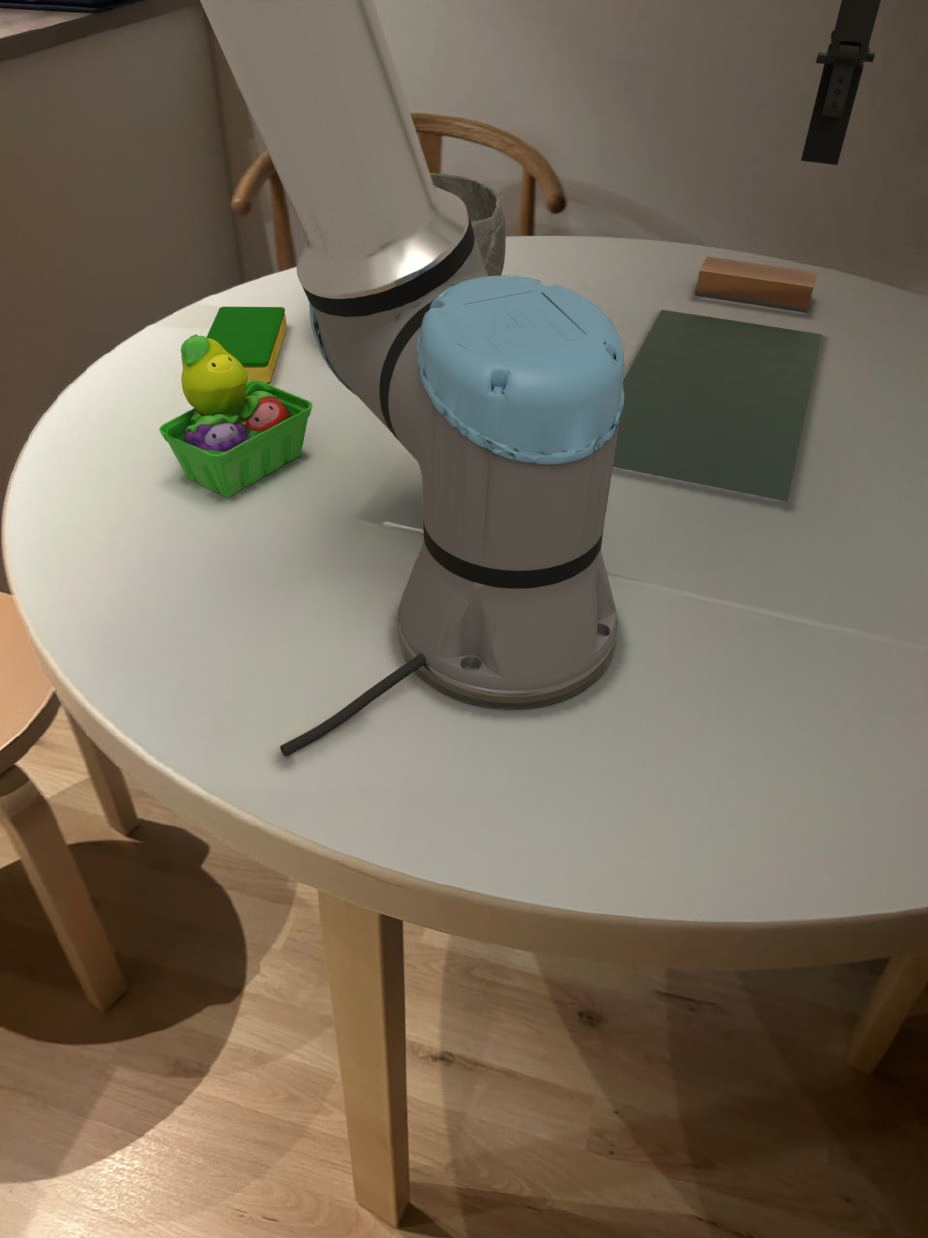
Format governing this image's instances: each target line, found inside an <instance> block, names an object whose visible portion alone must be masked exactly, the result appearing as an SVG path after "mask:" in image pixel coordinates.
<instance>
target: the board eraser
mask: <svg viewBox="0 0 928 1238" xmlns="http://www.w3.org/2000/svg"><path fill="white" fill-rule="evenodd" d="M817 276H818V271H815V270H814V271H813V270H806V269H800V268H799V269H798V268H790V267H784V266H777V265H770V264H763V263H756V262H749V261H742V260H736V259H728V258H720V257H714V256H706V257H705V259H704V261H703V263H702V265H701V267H700V269H699V272H698V277H697V282H696V287H695V294H694V296H695V297H700V298H706V299H712V300H719V301H726V302H733V303H739V304H746V305H753V306H759V307H766V308H770V309H771V308H772V309H778V310H785V311H791V312H799V313H805V314H807V313H808V310H809V307H810V303H811V300H812V295H813V292H814V288H815V284H816V279H817Z"/></svg>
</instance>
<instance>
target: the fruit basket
mask: <svg viewBox="0 0 928 1238" xmlns="http://www.w3.org/2000/svg"><path fill="white" fill-rule="evenodd" d="M206 337H207V336H205V335H198V334H197V333H195V334H192V335H190V336H189V337H188V338H186V339H185V340H184V341H183V343H182V344H181V347H180V353H181V365H182V371H181V377H180V378H181V380H180V381H181V389H182V392H183V395H184V397H185V399H186V401H187V403H188V404H189V406H191V407H192V409H190V410H188V411H186V412H184V413H182V414H181V415H177V417H174V418H173V419H171V420H169V421H166V422H165V423H163V424H162V425H161V426H159V428H158V431H159V433H160V434H161V436H162V437H163V439H164V441H165V442H166V443H168V445H169V447H170V449H171V451H172V452H173V454H174V456H175V459H176V460H177V461H178V463H179V465H180V467H181V469H182V470H183V472H184V474H185V475H186V478H187V479H188V480H190V481H194V482H196V483H198V484H199V485H200V486H201V487H205V488H206V489H208V490H210V491H213V492H215V493H219V494H220V495H221V496H222V497H224V498H230V497H231V496H233V495H235V494H237V493H238V492H240V491H241V490H242V489H243V488H246V487H248V486H250V485H252V484H254V483H256V482H257V481H259V480H261V479H262V478H263V477H264V476H266V475H268V474H271V473H273V472H274V471H276V470H278V469H280V468H282V467H283V465H285V464H286V463H289V462H292V461H293V460H294V461H295V459H297V458H299V457H300V456H301V455H302V453H303V452H302V451H303V446H304V442H305V436H306V435H305V434H306V431H307V425H308V420H309V417H310V416H311V414H312V413H311V412H312V409H313V402H311V401H310V400H308V399H306V398H303V397H301V396H299V395H296V394H293V393H291V392H288V391H286V390H284V389H281V388H279V387H276V386H274V385H272V384H270V383H265V382H262V381H250V382H248V383H247V381H248V375H247V373H246V370H245V369H244V367H243V366H242V364H241V363H240V362H239V361H238V360H237V359H236V358H235V357H234V356H232V355H231V354H230V353H228V352H227V351H225V349H224V348H223V347H222V346H221V345H220V344H219V343H218V342H217V341H215V340H213V339H210V338H206Z"/></svg>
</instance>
